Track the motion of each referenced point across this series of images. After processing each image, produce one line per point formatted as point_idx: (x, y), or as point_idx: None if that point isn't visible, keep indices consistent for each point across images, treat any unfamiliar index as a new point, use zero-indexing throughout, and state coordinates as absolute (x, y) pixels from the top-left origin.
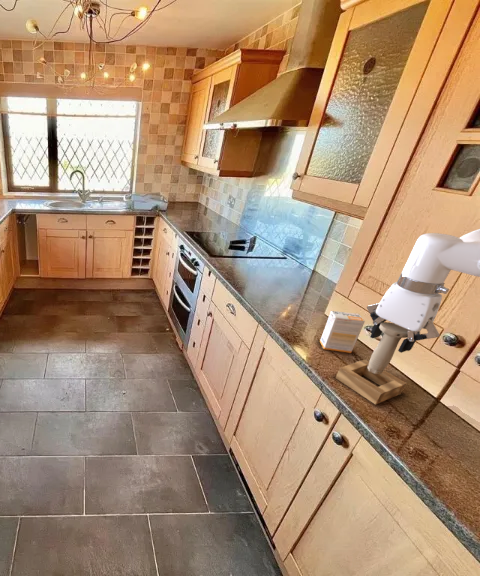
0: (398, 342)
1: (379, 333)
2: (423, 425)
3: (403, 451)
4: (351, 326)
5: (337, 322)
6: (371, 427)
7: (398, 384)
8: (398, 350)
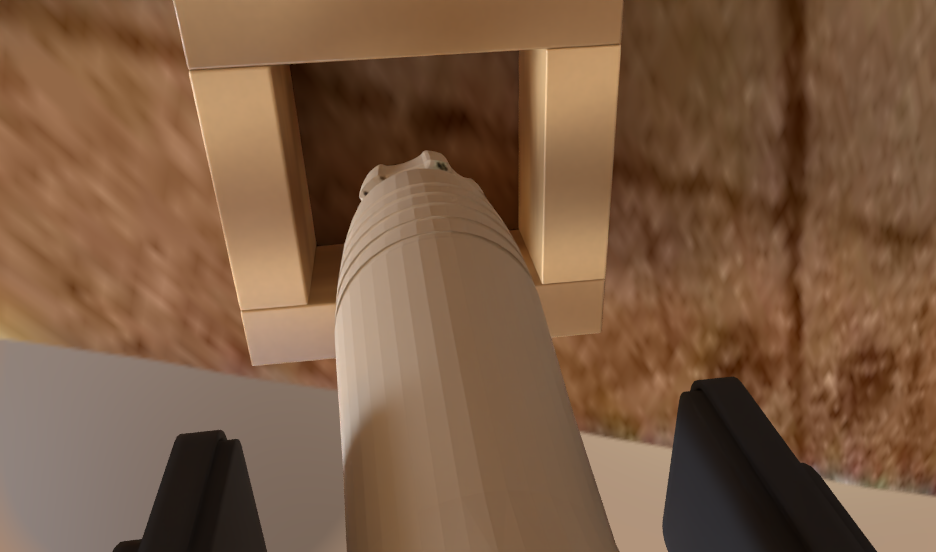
0: (608, 524)
1: (234, 546)
2: (816, 153)
3: (816, 430)
4: None
5: None
6: (665, 443)
7: (599, 78)
8: (671, 546)
